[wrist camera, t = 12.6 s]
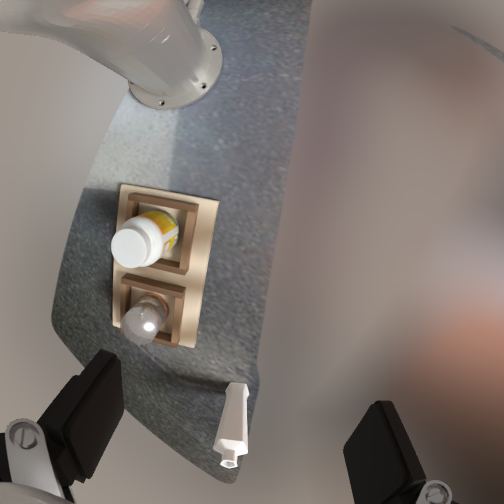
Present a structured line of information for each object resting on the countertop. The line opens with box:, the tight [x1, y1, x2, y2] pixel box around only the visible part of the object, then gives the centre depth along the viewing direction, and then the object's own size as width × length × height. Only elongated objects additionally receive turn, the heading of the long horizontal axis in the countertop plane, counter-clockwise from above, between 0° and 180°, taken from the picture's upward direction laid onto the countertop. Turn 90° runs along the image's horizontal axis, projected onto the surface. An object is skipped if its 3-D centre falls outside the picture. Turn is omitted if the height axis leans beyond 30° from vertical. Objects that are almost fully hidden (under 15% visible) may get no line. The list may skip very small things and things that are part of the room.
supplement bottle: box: [111, 210, 179, 268], centre depth 31 cm, size 5×5×10 cm
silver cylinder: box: [121, 292, 169, 345], centre depth 36 cm, size 5×5×6 cm
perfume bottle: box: [213, 382, 249, 468], centre depth 36 cm, size 5×4×15 cm
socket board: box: [113, 184, 219, 348], centre depth 37 cm, size 21×13×3 cm, turn 168°
